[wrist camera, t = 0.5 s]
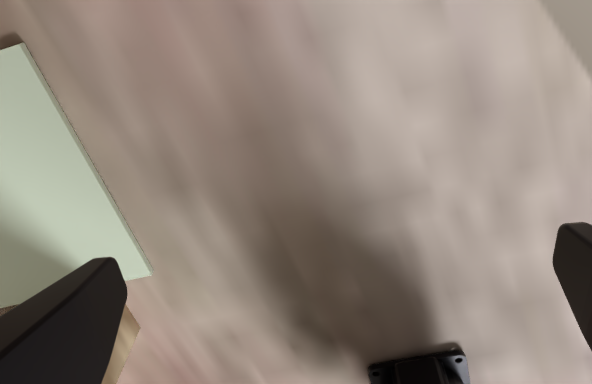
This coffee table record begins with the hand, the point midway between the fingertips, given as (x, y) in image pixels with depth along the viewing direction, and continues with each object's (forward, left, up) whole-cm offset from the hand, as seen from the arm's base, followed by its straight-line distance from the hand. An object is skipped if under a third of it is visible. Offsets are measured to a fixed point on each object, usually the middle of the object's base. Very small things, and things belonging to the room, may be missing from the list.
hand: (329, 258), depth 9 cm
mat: (-2, +20, -14) cm, 24 cm away
